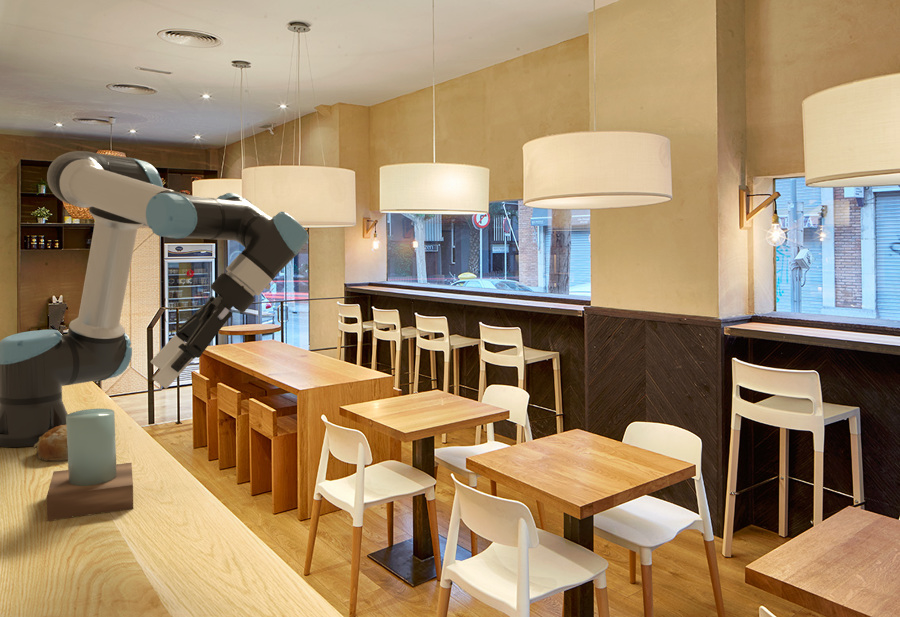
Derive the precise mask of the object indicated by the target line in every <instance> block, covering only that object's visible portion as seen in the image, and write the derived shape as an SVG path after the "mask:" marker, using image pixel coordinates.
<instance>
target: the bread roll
mask: <svg viewBox="0 0 900 617" xmlns="http://www.w3.org/2000/svg"><path fill="white" fill-rule="evenodd" d="M33 449H36V453H35V454H36V456H38V459H40V460H42V461H45V462H65V461H67V462H68V450H67V427H66V425H60V426H57V427H54V428H52V429H50V430H49V431H47V432H46V433H45V434H43V436H41V437H39V441H38V442H37V443H36V444H35V445H34V446H33Z"/></svg>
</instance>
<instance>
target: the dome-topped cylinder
mask: <svg viewBox="0 0 900 617" xmlns="http://www.w3.org/2000/svg"><path fill="white" fill-rule="evenodd" d="M67 414H68V413H67ZM115 420H116V418H115V410H113V409H111V408H88V409H81V410H77V411H73V412H70V413H69V414H68V415H67V416H66V427H67V450H68V460H67V464H68V465H67V470H68V472H69V483H70V484H72V485H76V486H89V485H96V484H101V483H104V482H107V481H110V480H112V479H114V478H115V477H116V475H117V470H116V464H117V451H116V450H117V448H116V446H117V445H116V421H115Z"/></svg>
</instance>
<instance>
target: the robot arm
mask: <svg viewBox="0 0 900 617" xmlns="http://www.w3.org/2000/svg"><path fill="white" fill-rule="evenodd" d="M46 180H47V181H46V182H47V185H48V187H49V190H50V191H51V192H52V194H53V195H54V196H55V197H56V198H57V199H58V200H60V201H61V202H63V203H66V204H68V205H72V206H75V207H77V208H80V209H81V208H84V209H86V208H88V213H89V214H90V216H91V217H92V218H93V219H94V224H93V225H94V226H93V232H92V238H91V244H90V247H89V248H90V250H89V253H88V254H89V255H88V260H87V264H86V265H87V266H86V271H85V278H84V283H83V288H82V294H81V301H80V306H79V312H78V316H77V317H76V318H74V319H73V320H71V321H70V323H69V325H68V330H67V333H66V334H61V332H60V331H59V330H57V329H39V330H29V331H22V332H19V333H15V334H11V335H9V336H6V337H4V338H2V339H1V340H0V447H4V448H23V447H24V448H25V447H34V445H35V444H36V443H37V442H38V441H39V437H41V436H43V434H45V433H46V432H47V431H49V430H50V429H52V428H54V427H57V426H60V425H66V416H67V415H68V411H67V408H66V406H65V404H64V402H63V386H64V387H65V386H71V385H78V384H82V383H83V384H84V383H90V382H95V381H98V382H101V381H106V380H108V379H109V380H110V379H112V378H116V377H118V376H121V375H122V374H123V373H125V371H126V370H127V369H128V367H129V365H130V363H131V360H132V356H133V355H132V354H133V348H132V347H131V345H132V342H131V338H130V337H129V335H128V334H127V333H126V330H125V327H124V326H123V325H122V324H121V323H120V321H121V316H122V311H123V306H124V300H125V297H126V296H125V295H126V289H127V284H128V280H129V274H130V268H131V264H132V260H133V259H132V258H133V254H134V248H135V244H136V238H137V233H138V229H139V228H141V227H142V226H144V225H145V226H148V228H149V229H151V232H152V233H153V234H154V235H156V236H158V237H163V238H168V239H173V240H177V239H201V240H203V239H204V240H218V241H219V240H222V241H235V242H237V243H239V244H240V245H241V246H243V247H244V249H243V250H242V251H241V252H240V253H238V255H237V256H236V257H235V258H234V259H233V260H232V261H231V262H230V263H229V265H228V266H227V267H226V269H225V270H226V271H227V272H226V273H225V272H224V273H221V274H220V275H219V276H218V277H217V278H216V279H215V280H214V281H213V282H212V283H211V285H210V289H211V290H212V291H213V292H214V293H216V294H217V296H216V297H215V296H210V297H209V298H208V300H207V301H206V302H205V303H204V304H203V305H202V306H201V307H200V308H198V310H197V311H196V312H195V313H193V314H192V315H191V316H190V317H189V318H188V319H187V320H186V321H184V322H183V323H182V324H181V325H180V326H179V327H178V328H177V331H176V333H175V334H174V335H173V336H172V338H171V339H170V340H168V342H167V343H165V345H164V346H163V347H162V349H161V350H159V351H158V352H157V354H156V355H155V356H154V357H153V358H152V359H151V360H150V363H151V365H153V366H155V367H156V368H157V369H159V371H158V372H157V373H156V374H155V375H154V376H153V377H152V381H154V382H156V383H158V384H159V385H160V386H162V388H164V389H166V390H167V389H168V388H169V386H171V385H172V383H173V382H175V380H177V379H178V377H179V376H180V375H181V374H182V372H183V371H184V370H186V368H187V367H188V366H189V365H190V364H191V362H193V360H194V359H198V358H201V356H202V355H203V353H204V352H205V350H207V348H208V346H209V345H210V343H211V342H212V341H213V340H214V339H215V337H216V336H217V334H218V333H219V332H220V331H221V329H222V328H223V326H224V325H225V324H226V323H227V322H228V321H229V319H230V318H232V316H233V314H234V313H233V312H231V309H232V308H234V309H235V310H237V311H238V312H239V313H242V314H243V313H245V311H247V309H248V308H249V307H250V306H251V305H253V303H254V302H255V299H256V298H255V297H254V296H260V295H261V293H262V292H263V291H264V290H265V289H266V290H269V289H270V288H271V285H270V284H271V283H272V281H273V280H274V279H276V276H277V275H278V274H279V273H280V272H282V270H283V269H284V268H285V267H286V266H287V265H288V264H289V263H290V262H291V261H293V259H294V258H295V257H296V256H297V255H298V254H299V252H300V251H301V250H302V248H303V247H305V244H307V242H308V241H309V237H310V235H309V233H308V231H307V230H306V229H305V228H304V226H303V225H302V224H301V223H300V222H299V221H298V220H296V218H294V217H293V216H292V215H290V214H289V213H287V212H285V211H279V212H278V213H277V214H276V215H273V216H270V215H268V214H267V213H265V212H264V211H262V209H260V208H258V207H257V206H256V205H255V204H253V203H252V201H250V200H248V199H247V198H245V197H243V196H241V195H239V194H237V193H235V192H226V193H225V194H223V195H218V197H217V198H215V197H204V196H197V195H190V194H186V193H183V192H179V191H175V190H173V189H168V188H166V187H164V185H163V180H162V178H161V177H160V173H159V172H158V170H157V169H156V168H155V167H154V166H153V165H152V164H151V163H149V162H147V161H145V160H140V159H138V158H132V157H129V156H128V157H127V156H122V155H121V156H120V155H113V154H112V155H111V154H105V153H97V152H92V151H87V150H86V151H85V150H76V151H68V152H66V153H63V154H61V155H59V156H57V157H56V158H55V159H54V160H53V161H52V162H51V163H50V165H49V167H48V170H47V174H46Z"/></svg>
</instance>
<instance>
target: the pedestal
mask: <svg viewBox="0 0 900 617" xmlns="http://www.w3.org/2000/svg"><path fill="white" fill-rule="evenodd" d="M116 470H117V475H116V477H115V478H114V479H112V480H110V481H107V482H104V483H101V484H96V485H89V486H76V485H72V484H70V483H69V472H68V469H64V470H55V471H54V470H53V472H52V476H51V479H50V483H49V487H48V491H47V493H46V494H47V495H46V515H47V516H46V517H47V518H46V519H47V520H46V521H47V522H49V520H50V521H56V520H55V519H57V520H62V518H64V519H69V517H71V518H73V517H72V516H78V517H82V516H81V515H85V516H89V515H88V514H92V515H95V514H94V513H99V514H102V513H101V512H105V513H111V512H119V511H124V510H125V511H126V510H132V509H134V481H133V480H134V478H133V465H132V462H126V463H125V462H123V463H118V464H117V463H116Z"/></svg>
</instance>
